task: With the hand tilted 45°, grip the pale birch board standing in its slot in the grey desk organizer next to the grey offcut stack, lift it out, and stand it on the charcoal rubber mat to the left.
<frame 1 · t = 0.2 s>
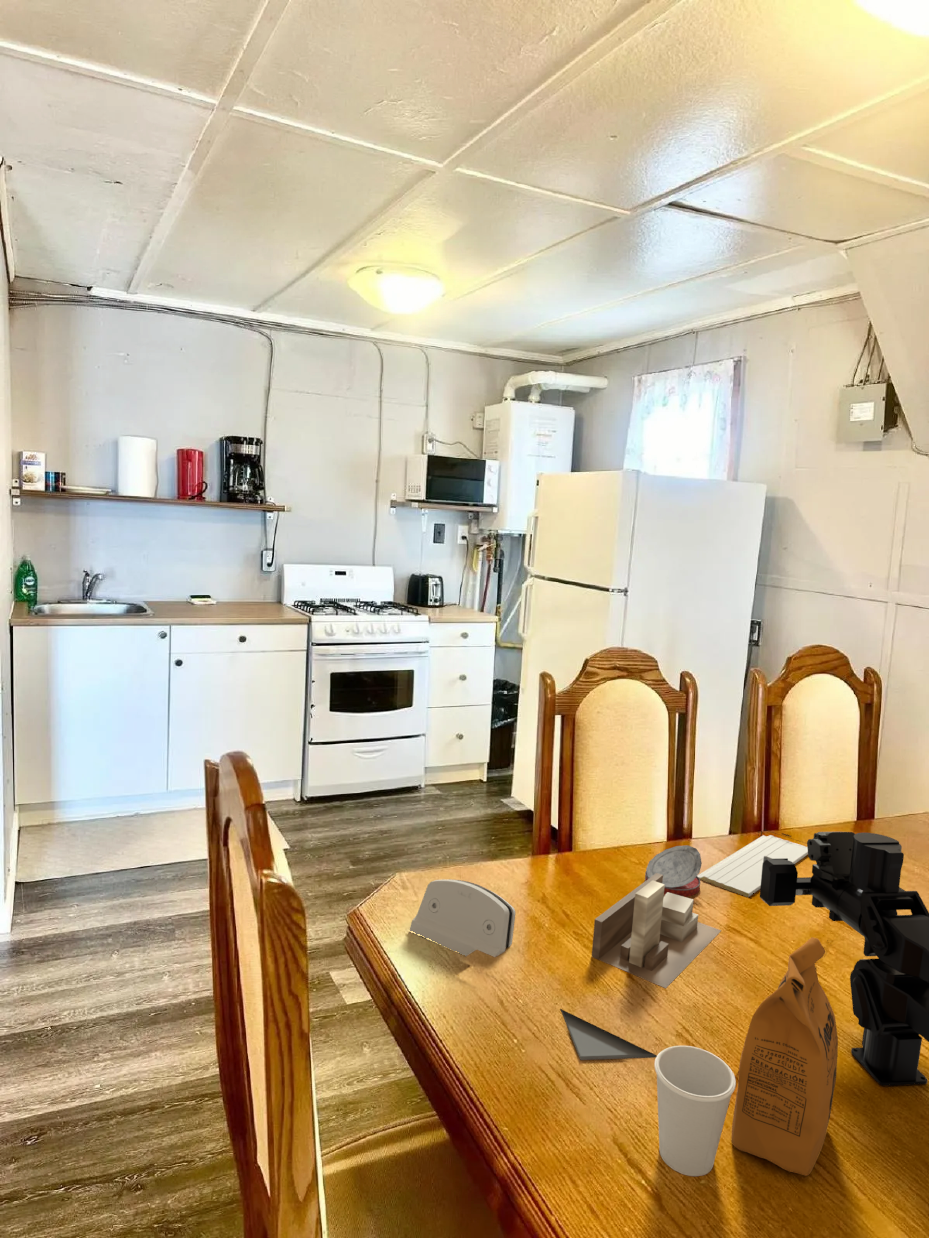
hand: (791, 858, 126), 17 cm above the table, tool horizontal, fingers open, 9 cm apart
canned food: (671, 893, 149), on the table
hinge: (463, 941, 129), on the table
birch board: (643, 956, 124), point 1 cm above the table, touching grey desk organizer
coffee package: (780, 1137, 91), on the table
dixie cup: (685, 1156, 87), on the table
grey desk organizer: (656, 952, 128), on the table
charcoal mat: (611, 1028, 108), on the table
offcut stack: (674, 928, 133), point 1 cm above the table, touching grey desk organizer
baseboard molding: (752, 867, 164), on the table
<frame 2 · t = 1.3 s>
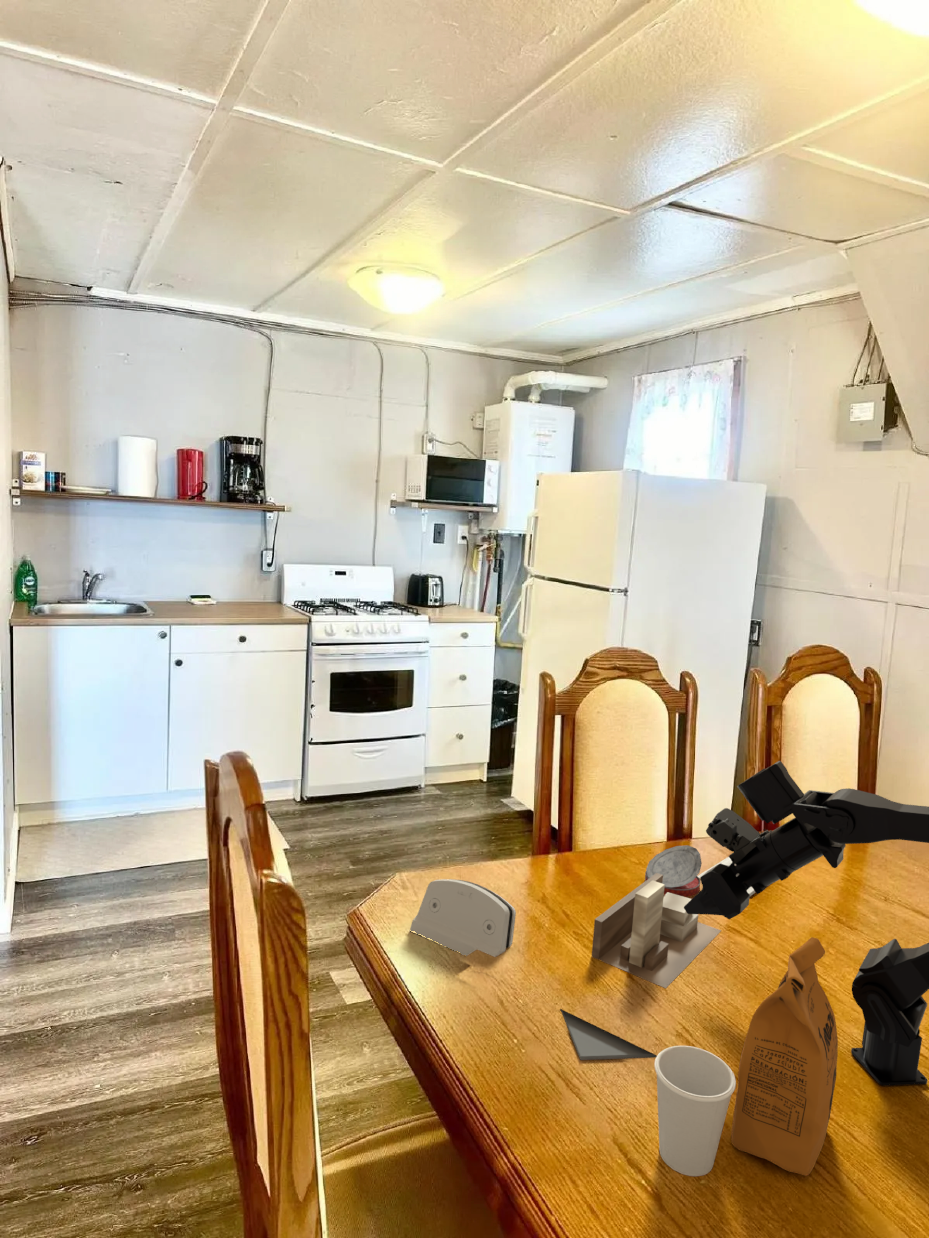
hand: (698, 898, 117), 13 cm above the table, tool tilted 45°, fingers open, 9 cm apart
nothing on the table moved.
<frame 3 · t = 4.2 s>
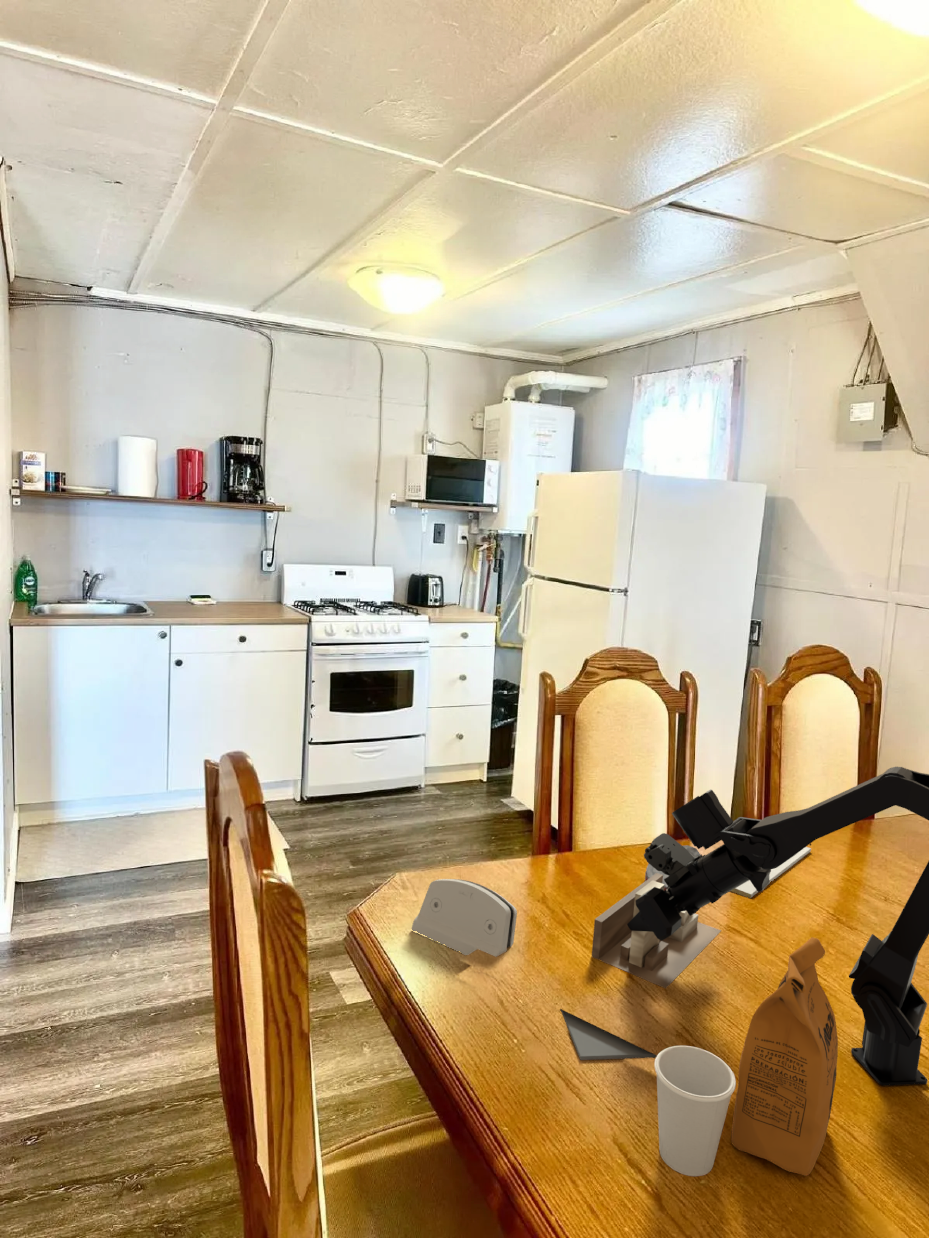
hand: (638, 919, 124), 7 cm above the table, tool tilted 45°, fingers closed on birch board, 6 cm apart
birch board: (643, 956, 124), point 1 cm above the table, touching gripper, grey desk organizer
everything else where it was.
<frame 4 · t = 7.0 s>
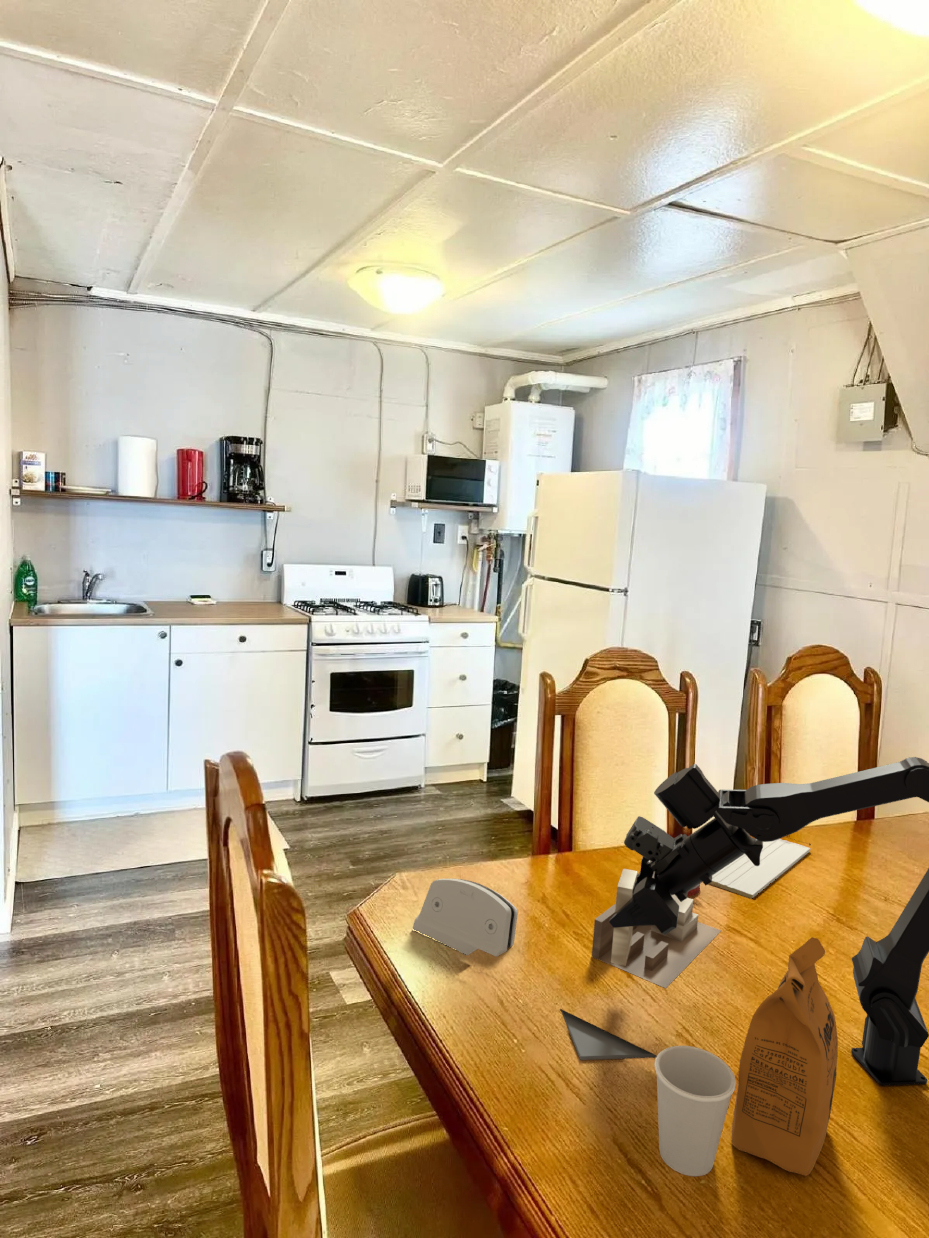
hand: (614, 913, 113), 13 cm above the table, tool tilted 45°, fingers closed on birch board, 6 cm apart
birch board: (621, 952, 113), point 7 cm above the table, touching gripper
everything else where it was.
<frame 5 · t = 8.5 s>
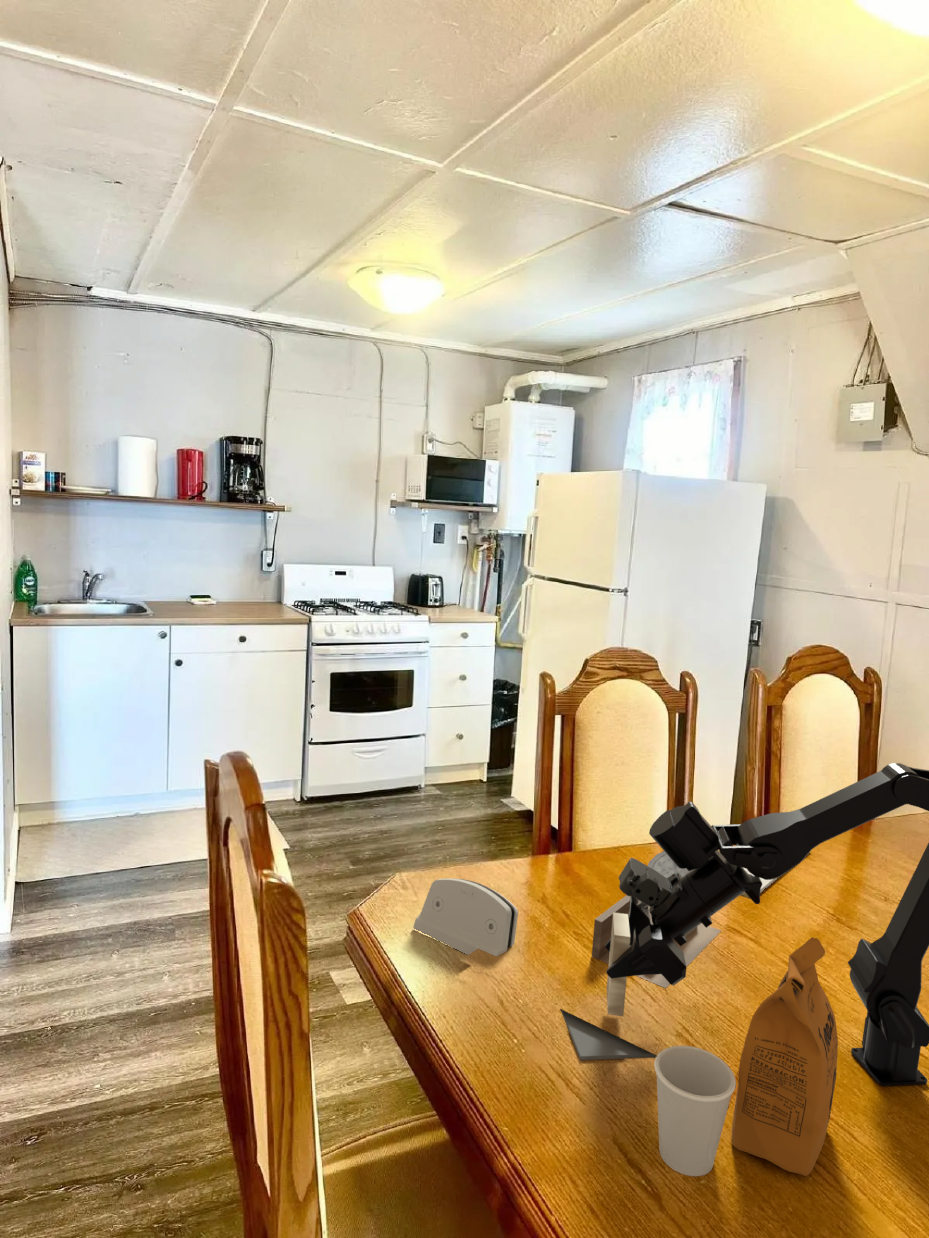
hand: (607, 961, 107), 9 cm above the table, tool tilted 45°, fingers closed on birch board, 6 cm apart
birch board: (614, 1001, 108), point 4 cm above the table, touching gripper
everything else where it was.
when the fingers open (7 cm above the table, at t = 9.8 s): birch board drops 1 cm, resting on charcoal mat.
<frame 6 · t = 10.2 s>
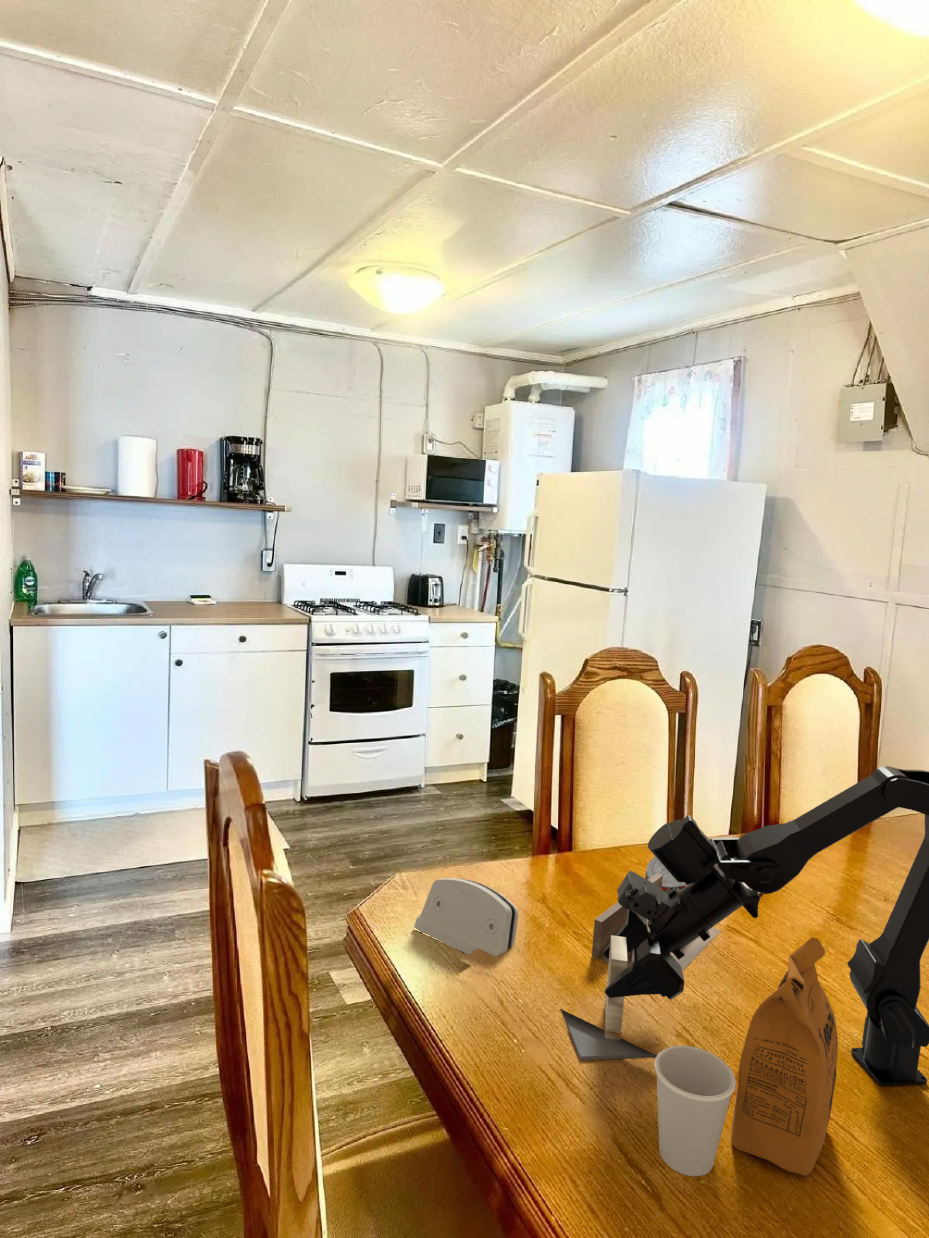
hand: (605, 974, 107), 8 cm above the table, tool tilted 45°, fingers open, 9 cm apart
birch board: (612, 1024, 108), resting on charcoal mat
everything else where it was.
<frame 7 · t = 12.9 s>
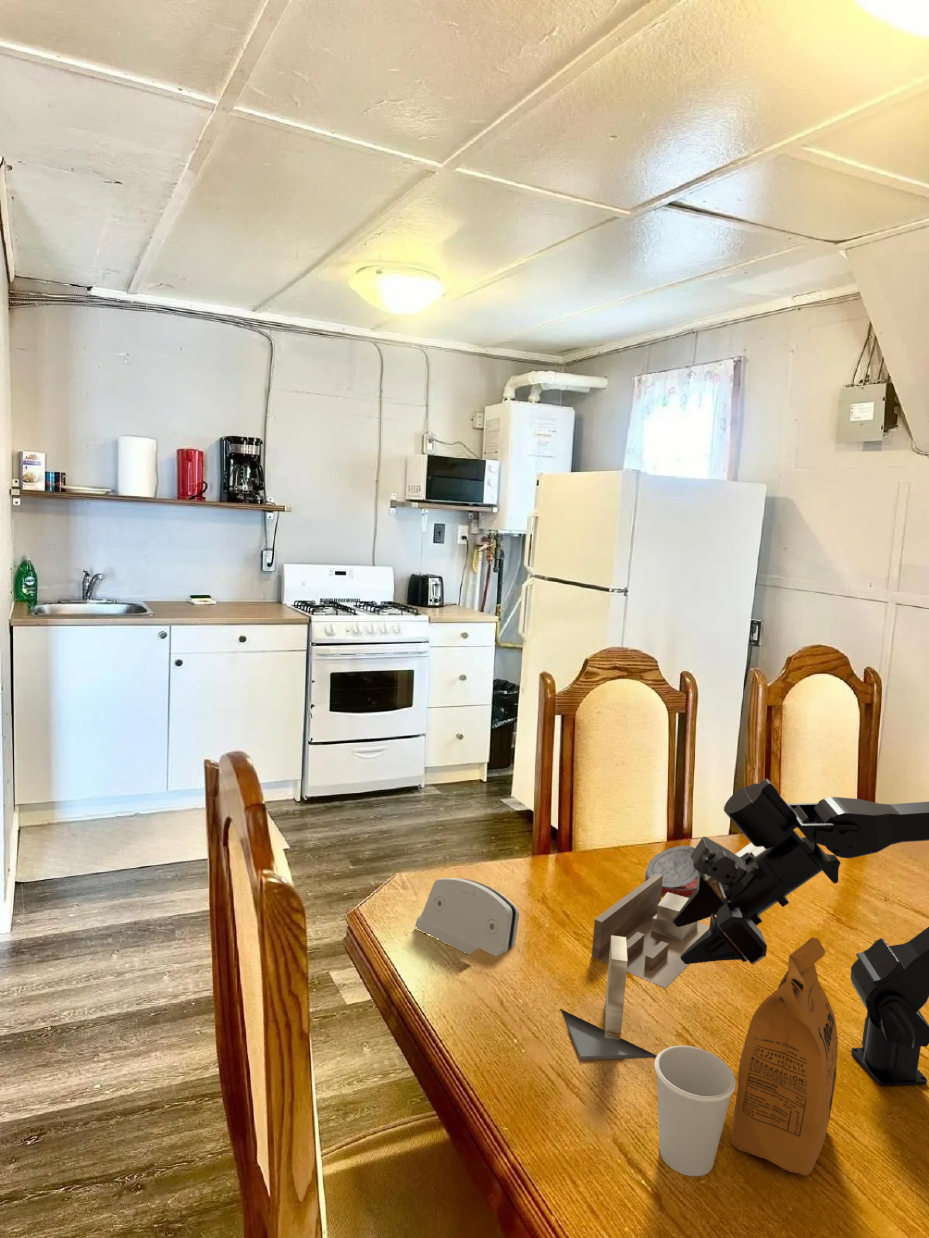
hand: (678, 941, 105), 13 cm above the table, tool tilted 45°, fingers open, 9 cm apart
nothing on the table moved.
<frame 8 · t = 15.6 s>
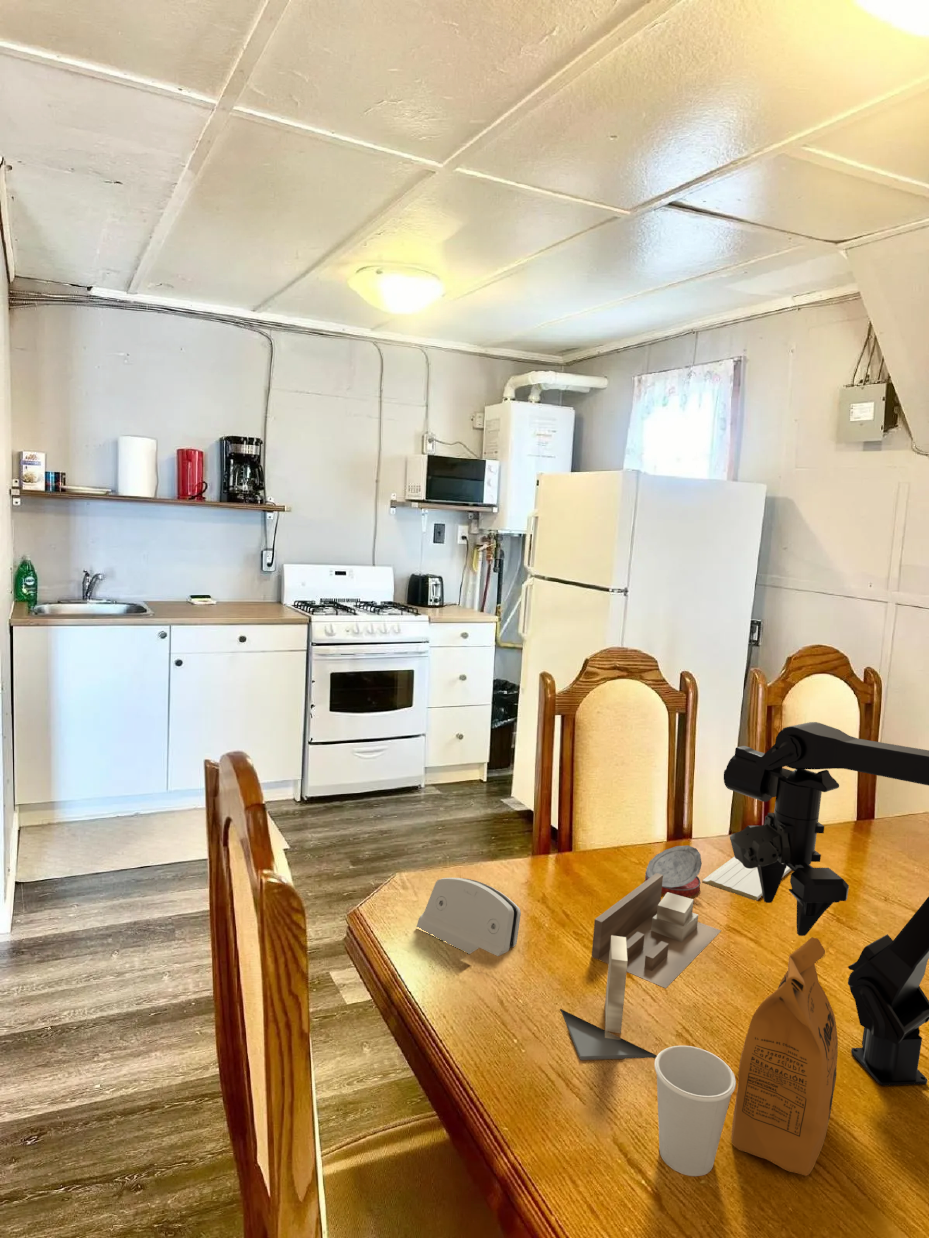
hand: (783, 918, 114), 13 cm above the table, tool pointing down, fingers open, 9 cm apart
at the end: birch board inside the target area on the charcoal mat (0.0 cm from its centre), point 0.5 cm above the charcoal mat's base; the gripper is holding nothing; birch board touching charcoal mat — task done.
